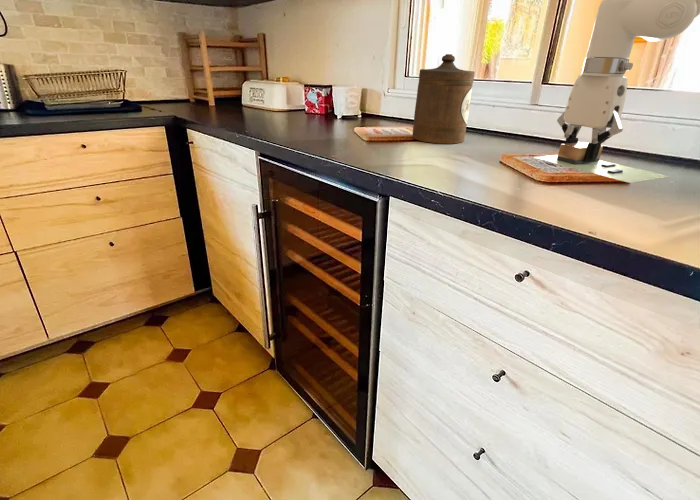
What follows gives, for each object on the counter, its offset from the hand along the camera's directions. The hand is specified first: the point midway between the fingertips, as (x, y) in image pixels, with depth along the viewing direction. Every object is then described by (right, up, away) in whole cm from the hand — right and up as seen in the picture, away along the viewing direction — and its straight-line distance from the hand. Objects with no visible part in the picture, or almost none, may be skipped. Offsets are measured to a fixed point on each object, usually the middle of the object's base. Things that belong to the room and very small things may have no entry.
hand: (578, 157), depth 88 cm
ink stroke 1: (+4, -3, -3) cm, 6 cm away
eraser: (0, -1, 0) cm, 1 cm away
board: (+2, -4, -3) cm, 5 cm away
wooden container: (-25, +11, +27) cm, 39 cm away
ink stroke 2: (+3, -5, -8) cm, 10 cm away
